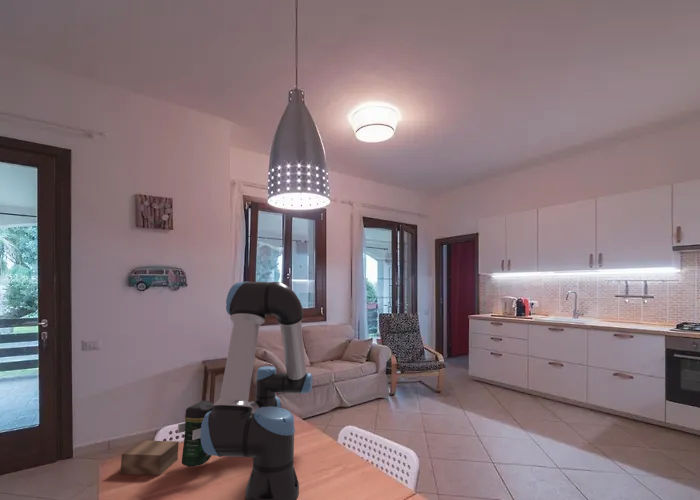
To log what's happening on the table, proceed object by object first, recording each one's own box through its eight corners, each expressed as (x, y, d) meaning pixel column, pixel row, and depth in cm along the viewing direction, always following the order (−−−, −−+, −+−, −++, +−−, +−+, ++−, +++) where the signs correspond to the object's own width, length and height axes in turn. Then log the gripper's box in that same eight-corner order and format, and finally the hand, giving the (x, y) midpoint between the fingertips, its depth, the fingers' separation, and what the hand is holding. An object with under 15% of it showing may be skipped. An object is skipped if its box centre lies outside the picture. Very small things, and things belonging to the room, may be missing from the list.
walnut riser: (177, 459, 128) (178, 441, 129) (159, 475, 117) (160, 455, 118) (141, 458, 129) (142, 440, 129) (120, 473, 118) (121, 454, 119)
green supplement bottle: (201, 468, 116) (204, 407, 119) (177, 467, 117) (181, 406, 120) (215, 455, 126) (218, 399, 128) (193, 454, 127) (196, 398, 129)
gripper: (262, 431, 130) (202, 453, 112) (227, 419, 143) (168, 436, 126) (263, 409, 131) (204, 427, 113) (228, 398, 144) (170, 413, 126)
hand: (185, 431), depth 119 cm, fingers closed on green supplement bottle, 9 cm apart
